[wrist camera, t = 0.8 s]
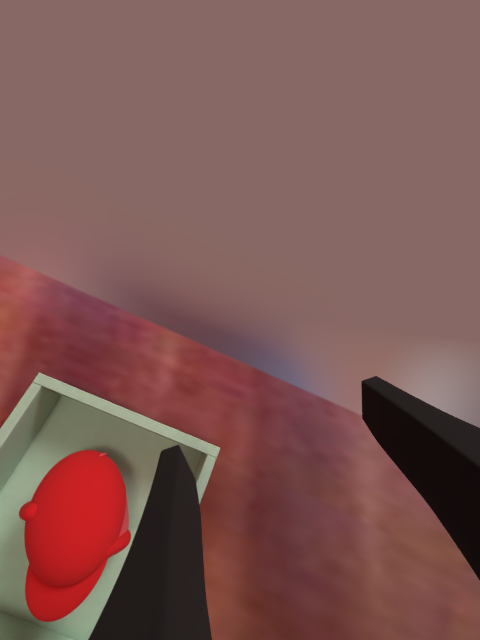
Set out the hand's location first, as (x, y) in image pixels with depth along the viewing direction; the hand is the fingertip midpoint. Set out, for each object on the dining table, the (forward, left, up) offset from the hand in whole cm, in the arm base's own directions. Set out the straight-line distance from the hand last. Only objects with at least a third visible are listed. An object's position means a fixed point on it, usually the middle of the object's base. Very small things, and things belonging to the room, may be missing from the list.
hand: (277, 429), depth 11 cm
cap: (-8, +7, -15) cm, 18 cm away
